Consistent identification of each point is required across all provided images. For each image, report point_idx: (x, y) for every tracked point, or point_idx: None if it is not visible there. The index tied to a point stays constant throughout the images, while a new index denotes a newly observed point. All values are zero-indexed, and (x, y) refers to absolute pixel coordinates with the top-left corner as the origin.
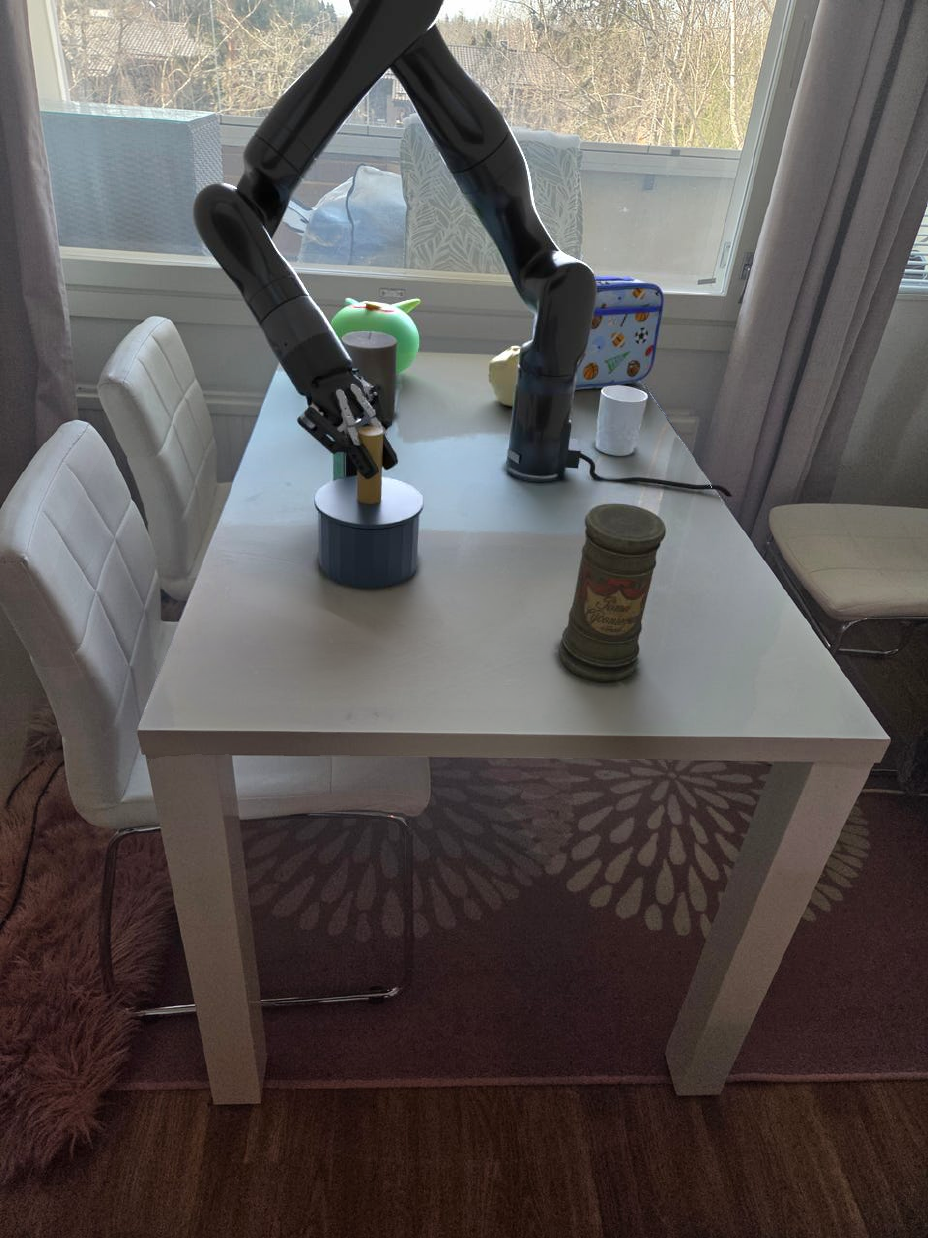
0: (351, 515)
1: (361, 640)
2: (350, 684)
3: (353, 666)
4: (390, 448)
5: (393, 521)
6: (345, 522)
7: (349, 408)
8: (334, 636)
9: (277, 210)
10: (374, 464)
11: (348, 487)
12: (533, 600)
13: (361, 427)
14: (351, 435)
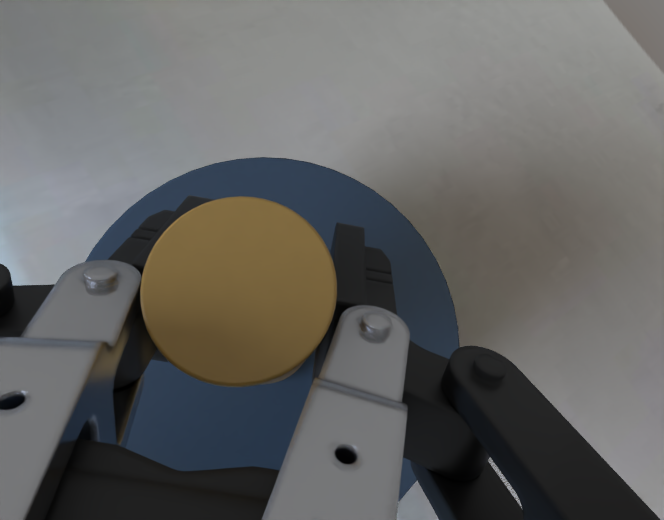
0: (410, 323)
1: (528, 216)
2: (633, 173)
3: (595, 191)
4: (169, 223)
5: (364, 192)
6: (455, 318)
7: (267, 510)
8: (549, 264)
9: None
10: (348, 235)
11: (222, 459)
12: (229, 8)
13: (223, 376)
14: (397, 361)
